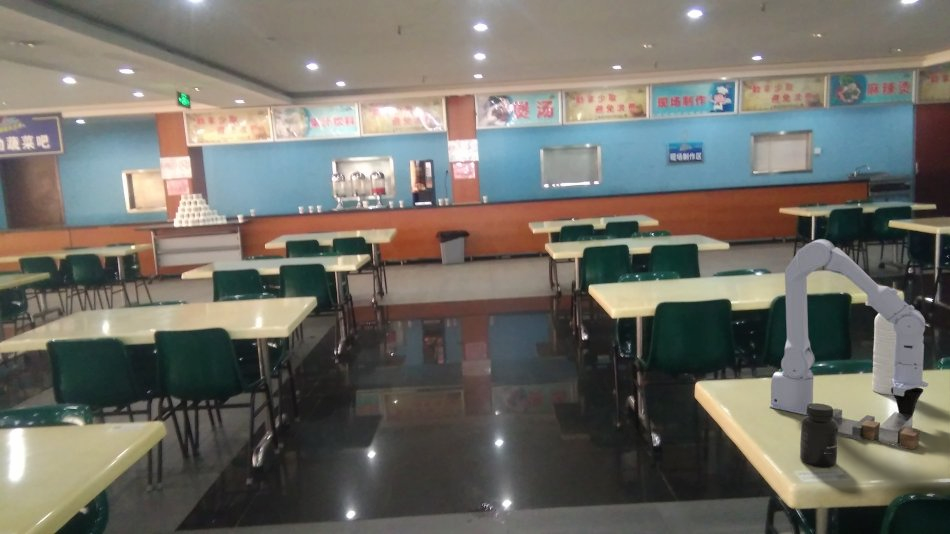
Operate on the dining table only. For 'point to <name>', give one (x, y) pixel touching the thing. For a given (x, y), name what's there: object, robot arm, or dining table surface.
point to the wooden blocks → (907, 436)
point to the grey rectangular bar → (894, 427)
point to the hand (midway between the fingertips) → (905, 417)
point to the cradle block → (850, 425)
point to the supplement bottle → (819, 436)
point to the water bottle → (883, 355)
